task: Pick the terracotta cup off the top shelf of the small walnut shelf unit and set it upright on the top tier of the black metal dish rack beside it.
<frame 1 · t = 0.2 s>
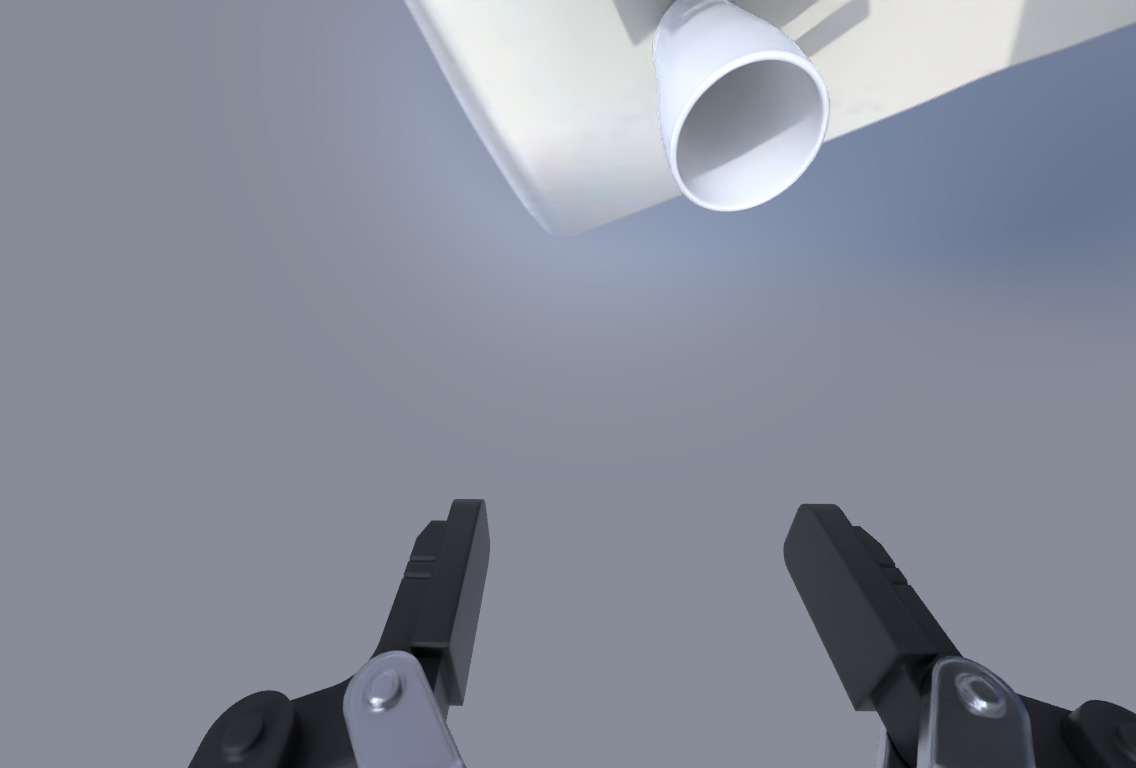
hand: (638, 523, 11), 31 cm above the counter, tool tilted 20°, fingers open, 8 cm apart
drinking glass: (692, 40, 29), on the counter
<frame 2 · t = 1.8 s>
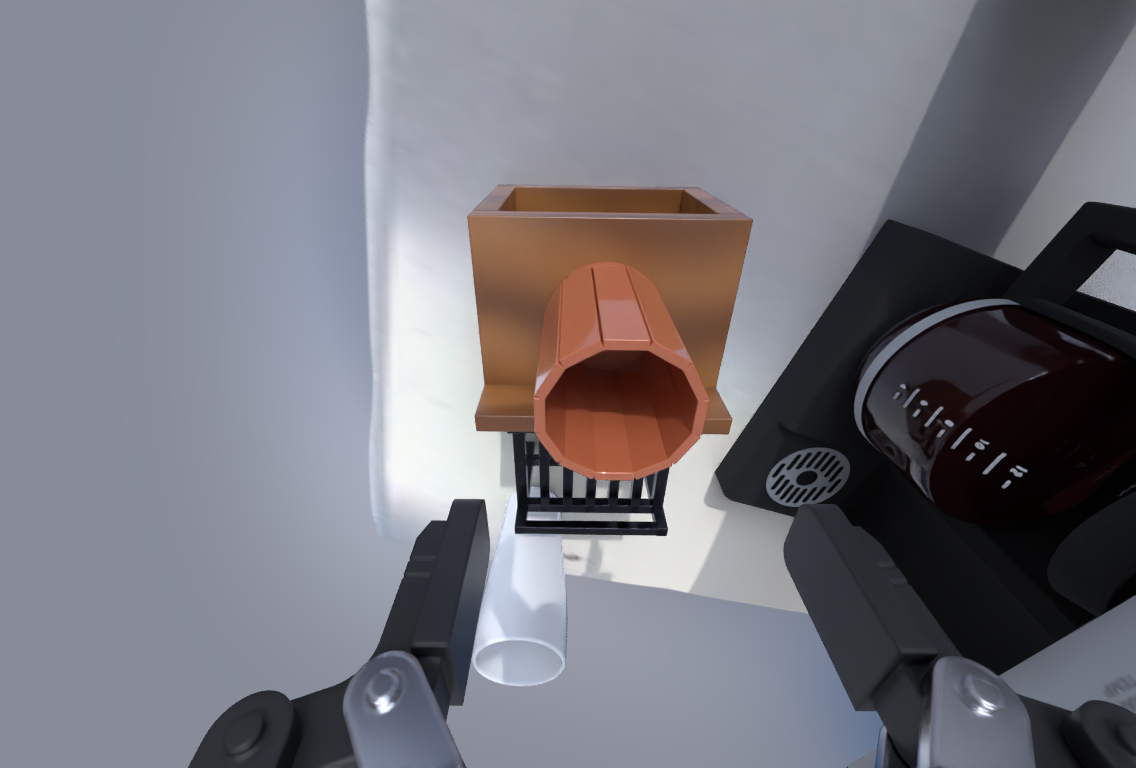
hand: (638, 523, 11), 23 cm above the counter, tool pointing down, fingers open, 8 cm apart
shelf: (595, 262, 31), on the counter
rack: (588, 403, 37), on the counter
drinking glass: (534, 501, 44), on the counter
coffee maker: (895, 376, 36), on the counter
cup: (604, 319, 23), point 10 cm above the counter, touching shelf
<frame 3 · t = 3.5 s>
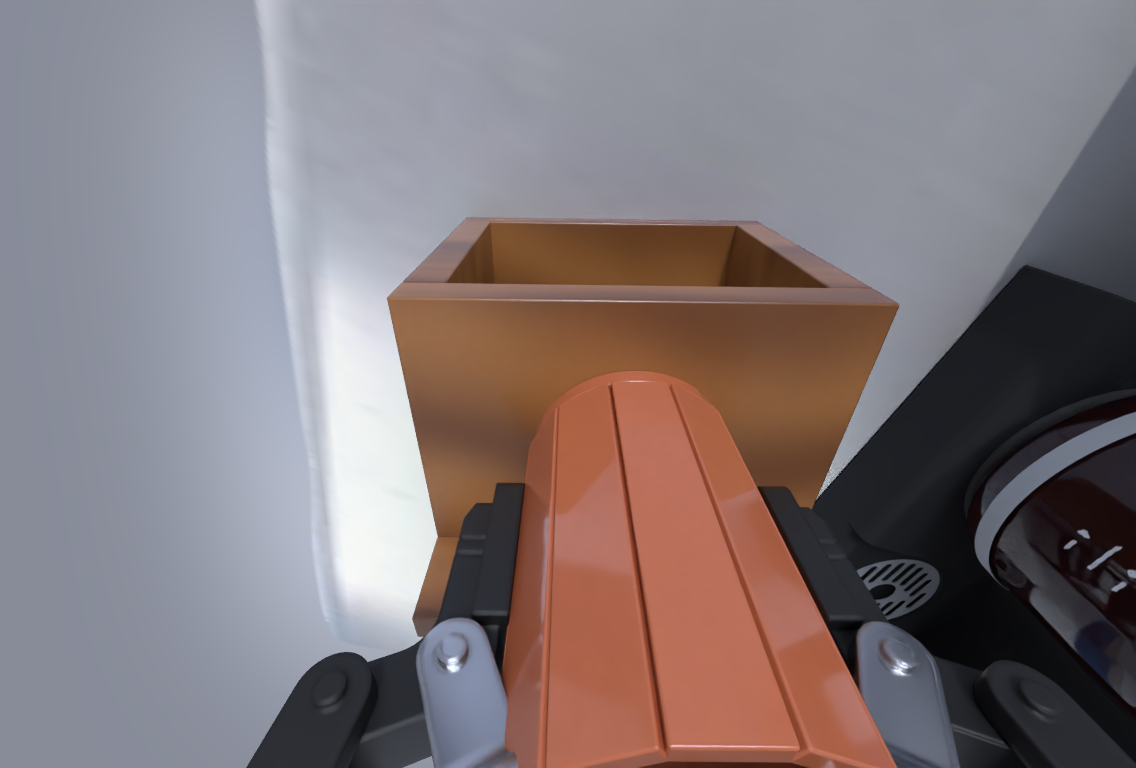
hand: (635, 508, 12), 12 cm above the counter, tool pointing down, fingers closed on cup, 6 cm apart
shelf: (605, 323, 22), on the counter
coffee maker: (1001, 461, 27), on the counter
cup: (627, 453, 14), point 10 cm above the counter, touching gripper, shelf
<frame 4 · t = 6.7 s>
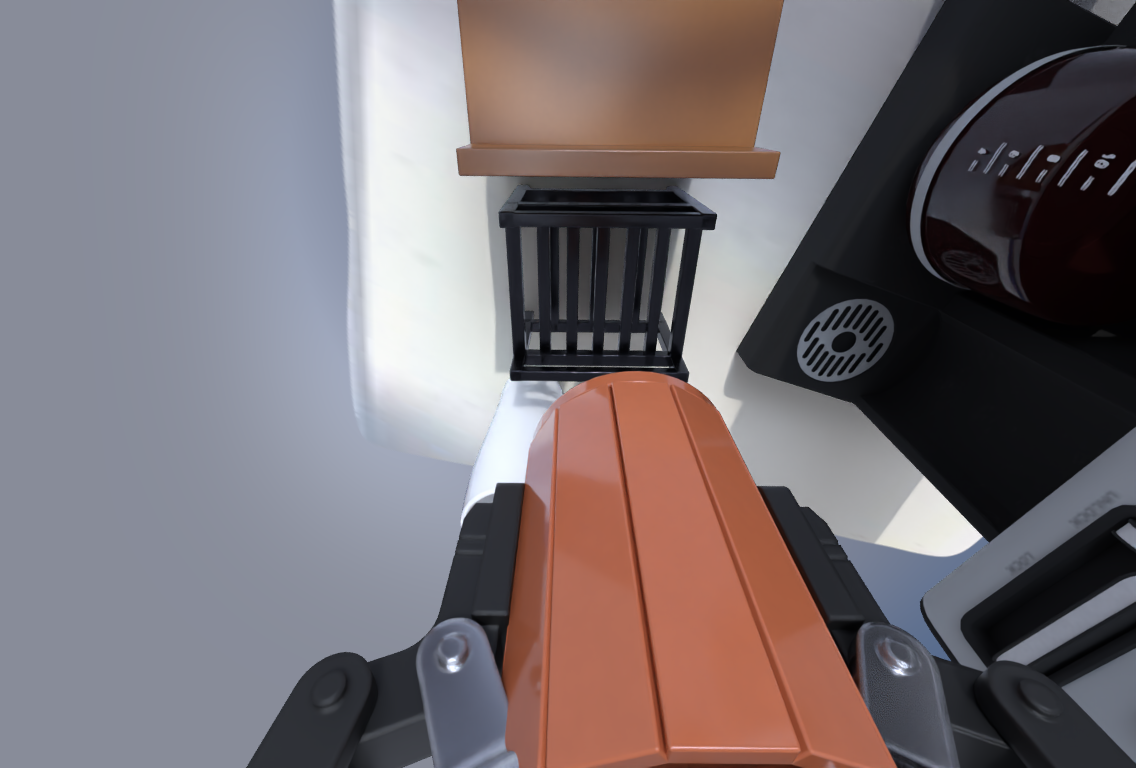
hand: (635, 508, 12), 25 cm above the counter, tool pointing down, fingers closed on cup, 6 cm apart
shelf: (603, 59, 27), on the counter
rack: (595, 258, 33), on the counter
drinking glass: (533, 391, 39), on the counter
coffee maker: (946, 219, 31), on the counter
cup: (627, 453, 14), point 22 cm above the counter, touching gripper
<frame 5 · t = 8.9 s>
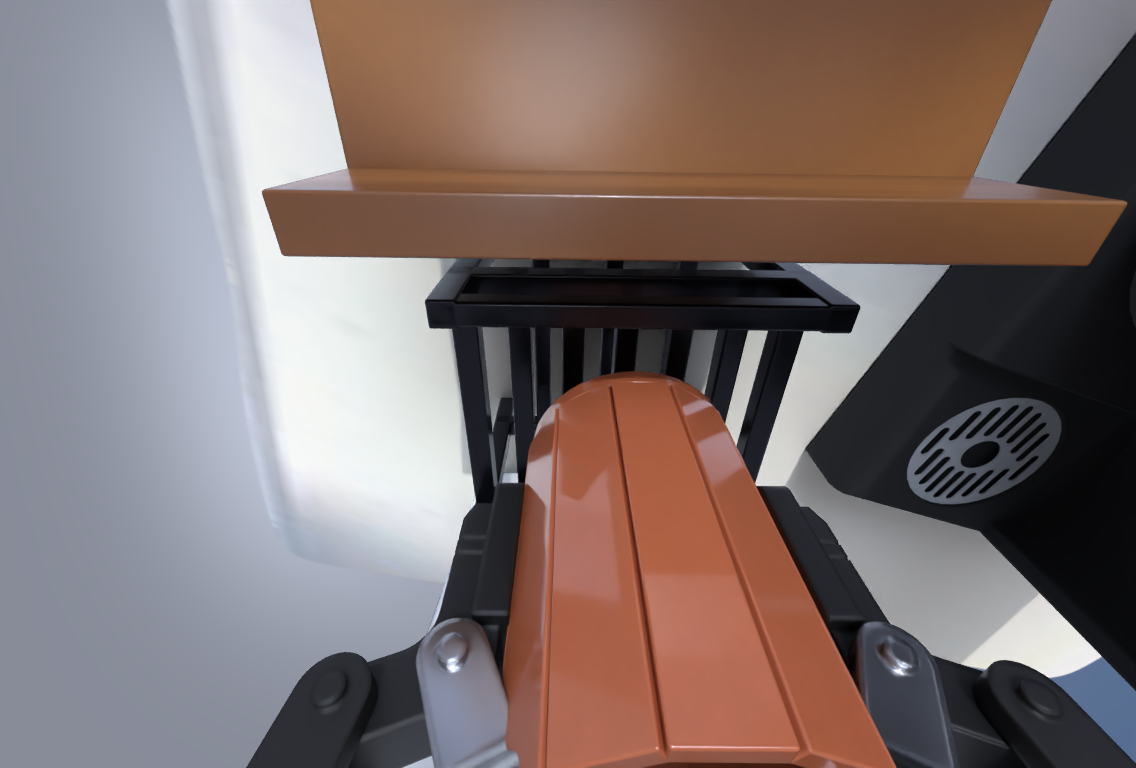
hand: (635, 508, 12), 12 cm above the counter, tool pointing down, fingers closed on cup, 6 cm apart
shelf: (625, 14, 16), on the counter
rack: (605, 327, 22), on the counter
drinking glass: (516, 497, 28), on the counter
cup: (627, 453, 14), point 10 cm above the counter, touching gripper
when the fingers open (10 cm above the counter, at t = 10.1 s): cup stays where it is, resting on rack.
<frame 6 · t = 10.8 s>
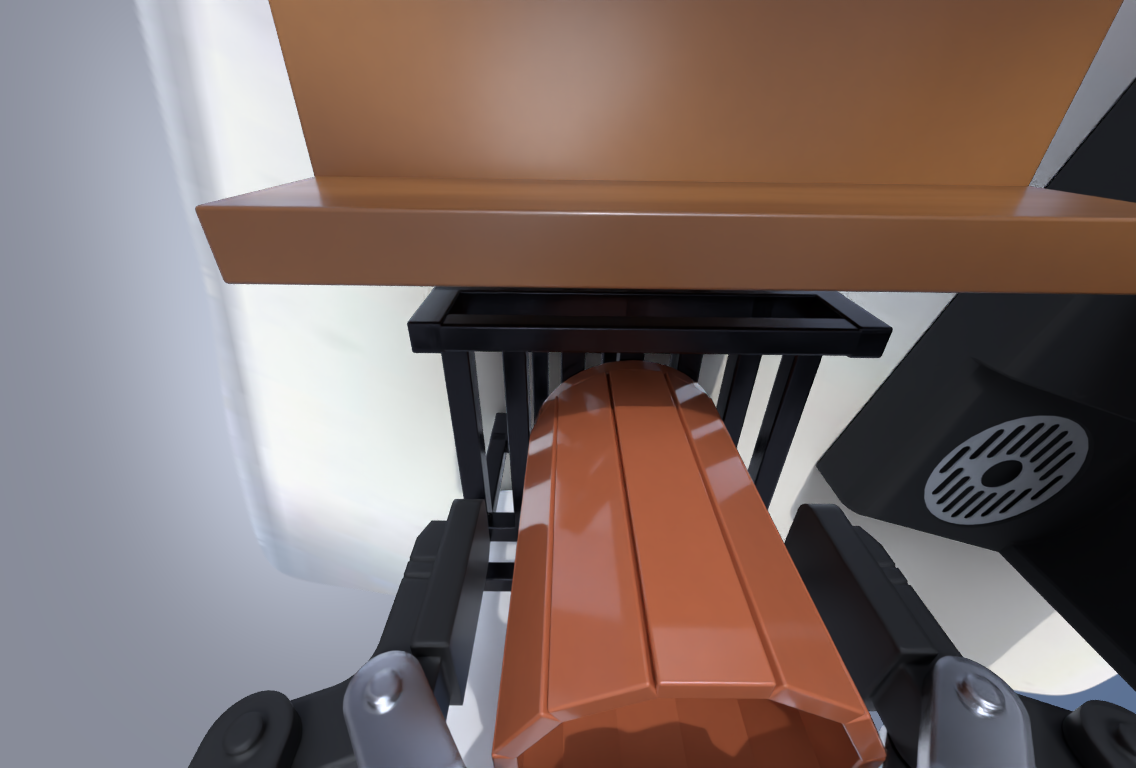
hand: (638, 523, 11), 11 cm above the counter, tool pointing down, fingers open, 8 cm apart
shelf: (628, 8, 14), on the counter
rack: (606, 339, 21), on the counter
drinking glass: (513, 514, 27), on the counter
cup: (624, 440, 14), point 7 cm above the counter, touching rack
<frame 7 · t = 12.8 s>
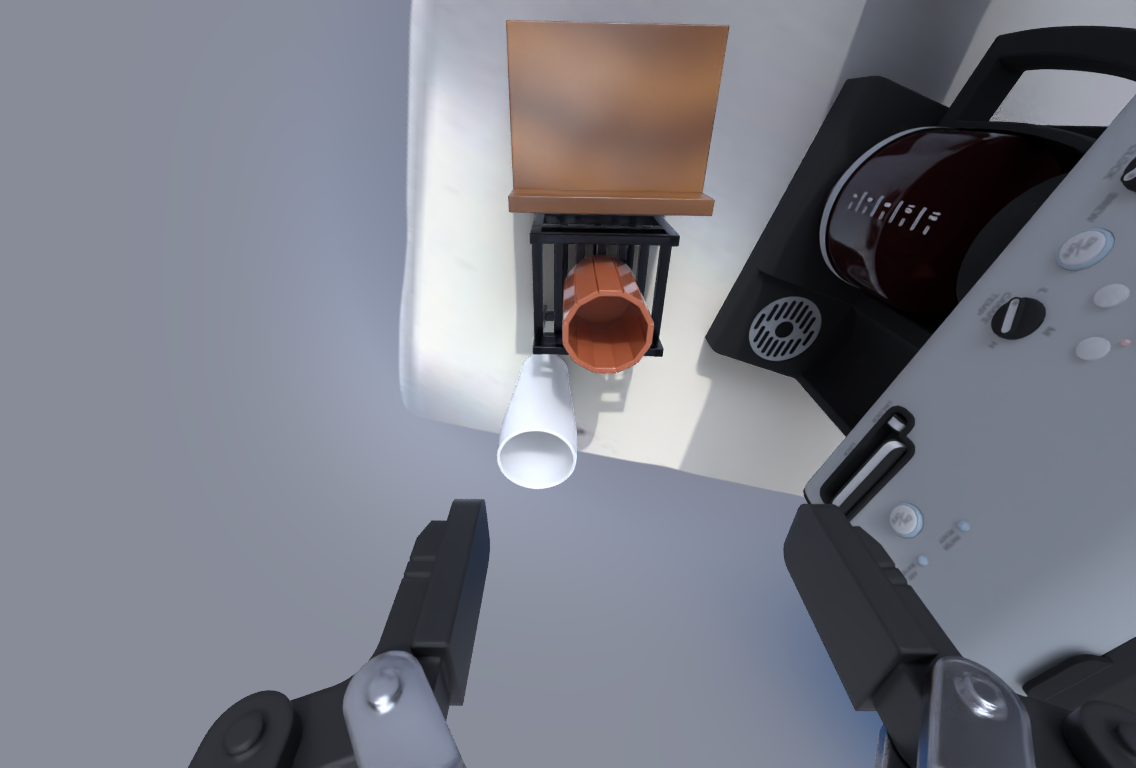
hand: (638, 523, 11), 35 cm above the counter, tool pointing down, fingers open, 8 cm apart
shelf: (601, 121, 37), on the counter
rack: (594, 264, 43), on the counter
drinking glass: (544, 370, 49), on the counter
coffee maker: (859, 237, 42), on the counter
cup: (599, 290, 36), point 7 cm above the counter, touching rack
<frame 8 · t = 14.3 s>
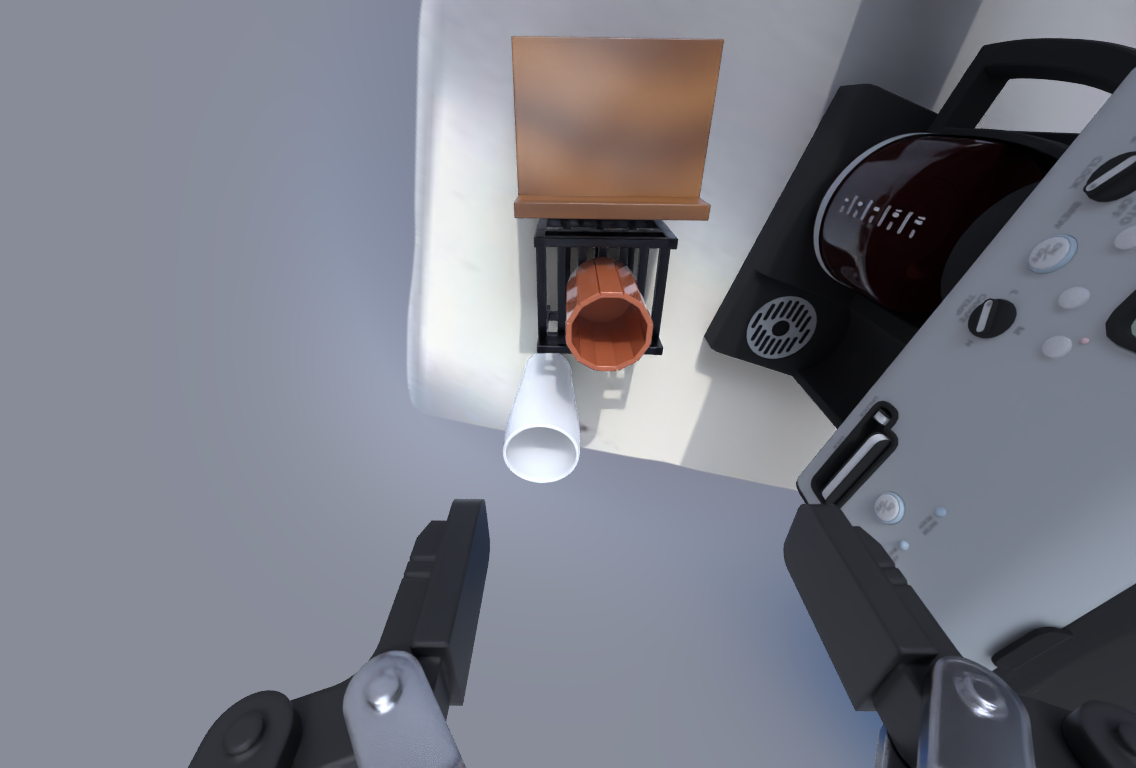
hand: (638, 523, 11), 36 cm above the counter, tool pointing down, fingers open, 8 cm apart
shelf: (602, 127, 38), on the counter
rack: (596, 265, 44), on the counter
drinking glass: (548, 368, 51), on the counter
coffee maker: (854, 238, 43), on the counter
cup: (601, 291, 38), point 7 cm above the counter, touching rack
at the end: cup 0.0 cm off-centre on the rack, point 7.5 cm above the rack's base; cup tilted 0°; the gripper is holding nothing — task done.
